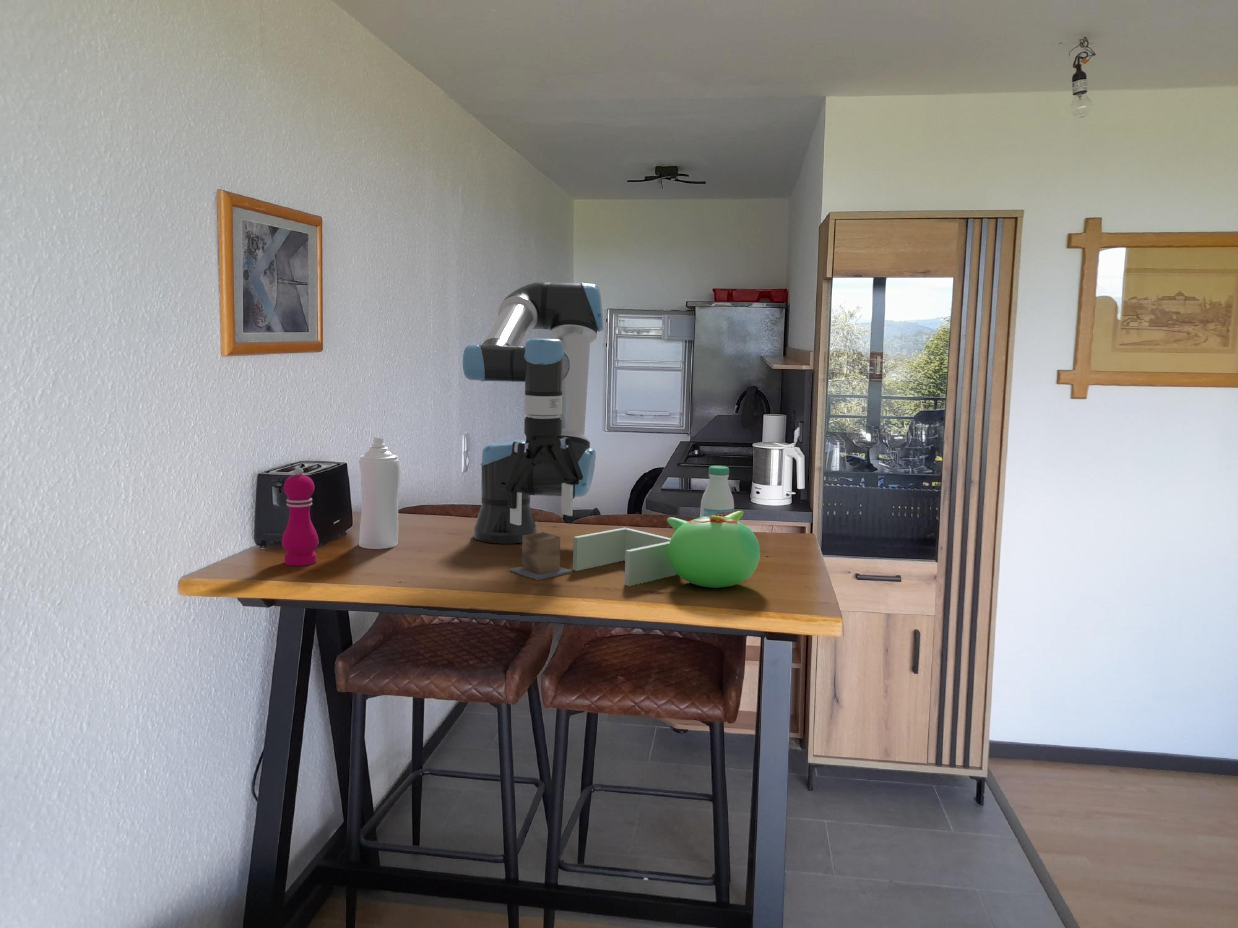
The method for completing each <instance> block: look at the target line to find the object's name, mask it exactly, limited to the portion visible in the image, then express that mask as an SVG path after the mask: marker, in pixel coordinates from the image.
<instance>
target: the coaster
mask: <svg viewBox="0 0 1238 928" xmlns="http://www.w3.org/2000/svg"><path fill="white" fill-rule="evenodd" d="M572 570H573V569H568V568H566V567H561V566H560V570H558V571H553V572H549V573H544V574H536V573H533V572H530V571H527V570H524V569H522V565H521V566H516V567H512V568H509V571H510V572H511V573H514V574H518V575H521V576H524V577H527V578H530V579H533V580H536V581H540V580H544V579H549V578H554V577H558V576H563V575H567V574H572V572H573V571H572Z"/></svg>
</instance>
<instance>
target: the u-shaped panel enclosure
mask: <svg viewBox="0 0 1238 928" xmlns="http://www.w3.org/2000/svg"><path fill="white" fill-rule="evenodd" d="M671 538H672V537H666V536H663V535H657V534H654V533H649V532H646V531H641V530H638V529H633V528H628V527H622V528H615V529H609V530H604V531H603V530H602V531H600V532H593V533H587V534H582V535H577V536H573V544H572V545H573V547H572V550H573V551H572V553H573V554H572V555H573V556H572V570H573V571H582V570H586V569H591V568H596V567H601V566H605V565H610V564H615V563H619V561H620V562H625V563H624V586H626V585H628V586H627V587H631V586H630V585H633V586H636V585H635V584H637V585H641V584H644V583H643V582H645V583H649V582H652V581H656V579H657V580H660V579H664V577H665V578H668V577H673V576H677V575H678V574H677V573H676V572H675V570H674V569H673V567H672V565H671V562H670V559H669V543H670V540H671ZM648 581H649V582H648ZM640 583H641V584H640Z"/></svg>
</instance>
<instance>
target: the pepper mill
mask: <svg viewBox="0 0 1238 928" xmlns="http://www.w3.org/2000/svg"><path fill="white" fill-rule="evenodd" d="M293 472H294V473H293V474H294V475H290V476H289V477H288V478H286V479H285V481H284V484H283V493H284V494H285V495H286V496H287V498H286V506H287V507H288V510H289V515H288V516H289V519H288V522H287V525H286V528H285V530H284V532H283V534H282V538H281V547H282V548H283V549H284V550H285V552H287V553H285V554H284V563H285V565H287V566H290V567H291V566H292V567H302V566H305V567H306V566H311V565H313V564H316V563H317V558H318V557H317V552H315V550H316V548H317V547H318V546H319V543H320V542H319V540H320V539H319V536H318V533H317V530H316V529H315V526H314V524H313V522H312V520H311V513H310V512H311V506H312V505H313V498H312V497H311V496H312V495H313V494H314V492H315V483H314V480H313V479H312V478H311V477H309V476H307V475H305V474H304V469H303V468H301V467H295V469H294V470H293Z"/></svg>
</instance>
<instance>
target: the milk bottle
mask: <svg viewBox="0 0 1238 928" xmlns="http://www.w3.org/2000/svg"><path fill="white" fill-rule="evenodd" d="M708 477H709V480H708V483H707V486H706V488H705V490H704V492H703V494H702V497H701V501H700V510H699V517H704V516H708V517H710V516H722V517H725V516H727V515H729V514H731V513H734V512H735V503H734V502H735V501H734V495H733V494H732V491H731V489H730V485H729V481H728V480H729V477H730V468H729V467H728V466H726V465H724V466H723V465H711V466H709V467H708Z"/></svg>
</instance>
